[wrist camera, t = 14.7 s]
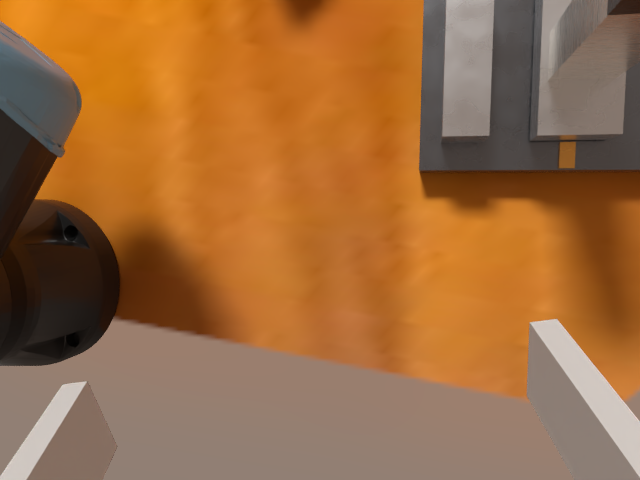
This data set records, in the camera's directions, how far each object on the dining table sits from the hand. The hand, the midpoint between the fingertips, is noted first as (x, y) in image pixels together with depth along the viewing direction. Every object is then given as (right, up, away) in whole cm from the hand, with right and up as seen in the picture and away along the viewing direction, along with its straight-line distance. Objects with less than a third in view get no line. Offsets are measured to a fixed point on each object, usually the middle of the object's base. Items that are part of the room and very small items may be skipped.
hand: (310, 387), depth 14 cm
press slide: (+17, +16, +18) cm, 30 cm away
